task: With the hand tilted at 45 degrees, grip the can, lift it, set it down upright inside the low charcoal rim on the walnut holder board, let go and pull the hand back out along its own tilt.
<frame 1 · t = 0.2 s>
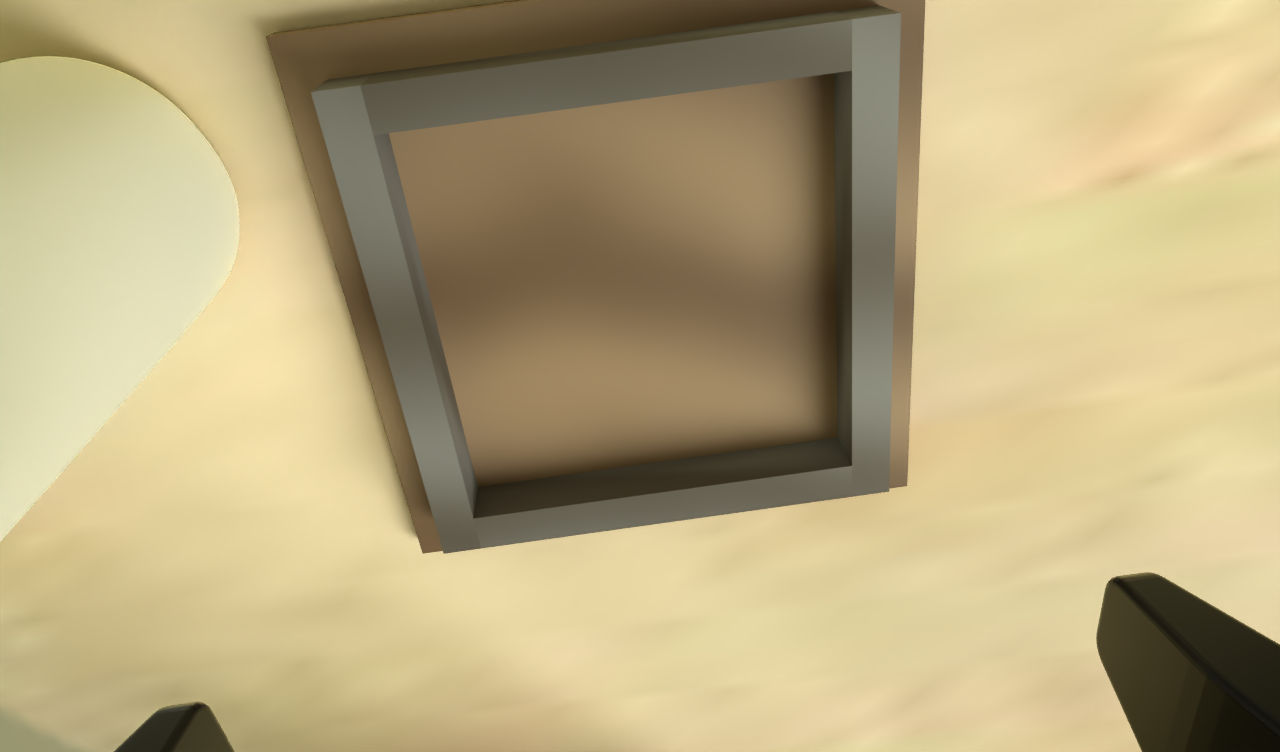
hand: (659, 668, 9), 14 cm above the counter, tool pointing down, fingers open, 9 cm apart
holder: (635, 287, 22), on the counter
can: (104, 195, 21), on the counter
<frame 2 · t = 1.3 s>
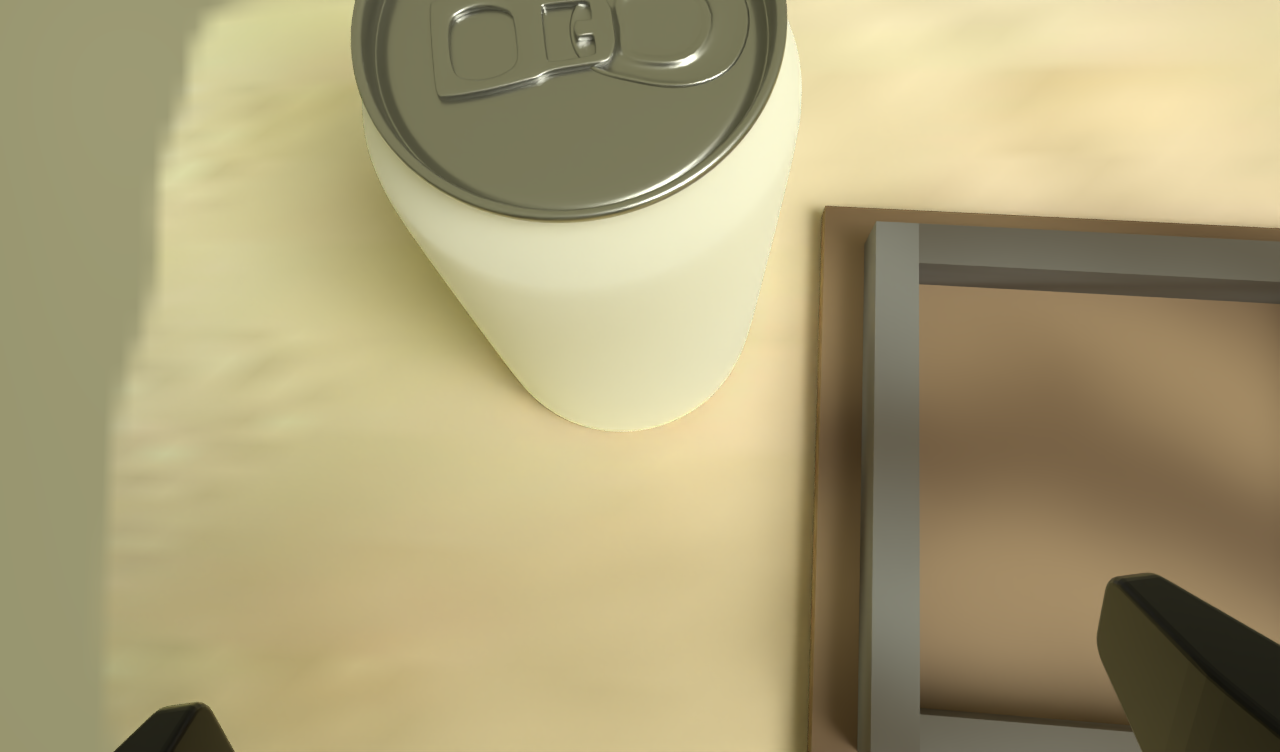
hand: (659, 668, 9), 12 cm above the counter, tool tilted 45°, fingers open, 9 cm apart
holder: (1109, 500, 21), on the counter
can: (624, 315, 23), on the counter
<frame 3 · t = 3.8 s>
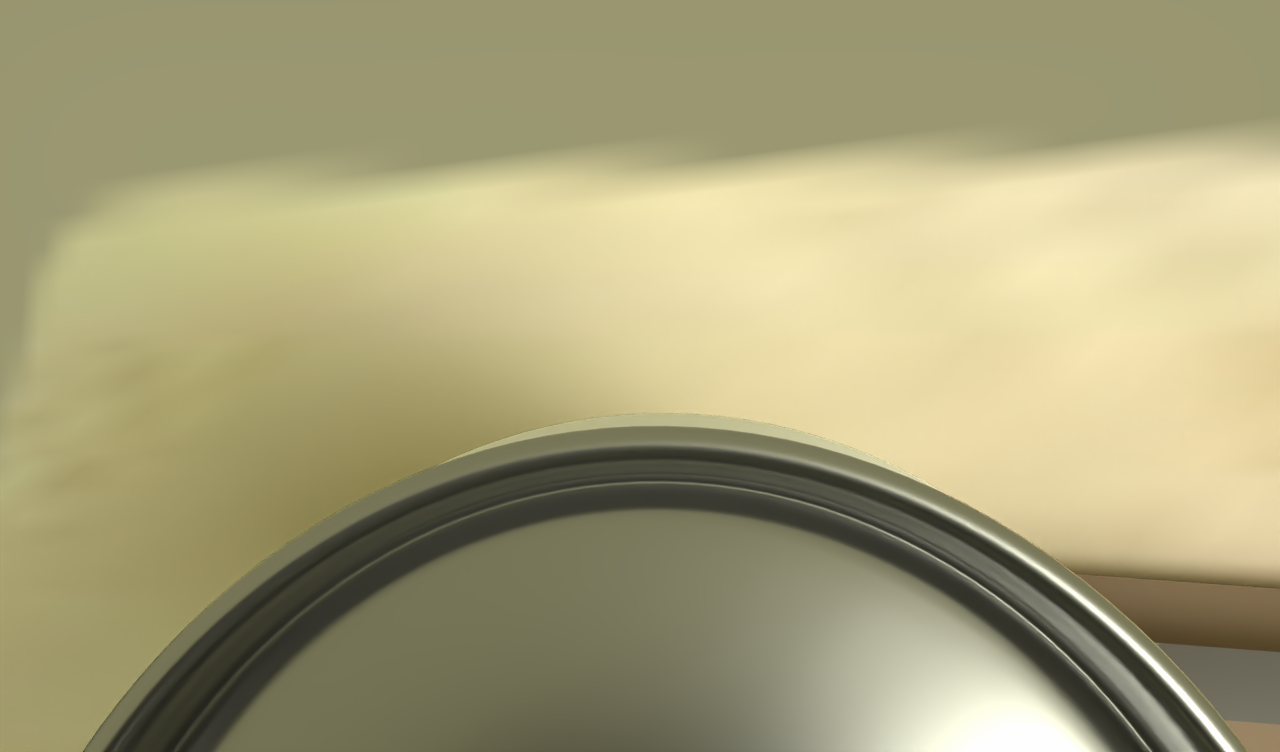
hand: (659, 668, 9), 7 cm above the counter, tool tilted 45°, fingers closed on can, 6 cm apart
can: (675, 726, 15), on the counter, touching gripper
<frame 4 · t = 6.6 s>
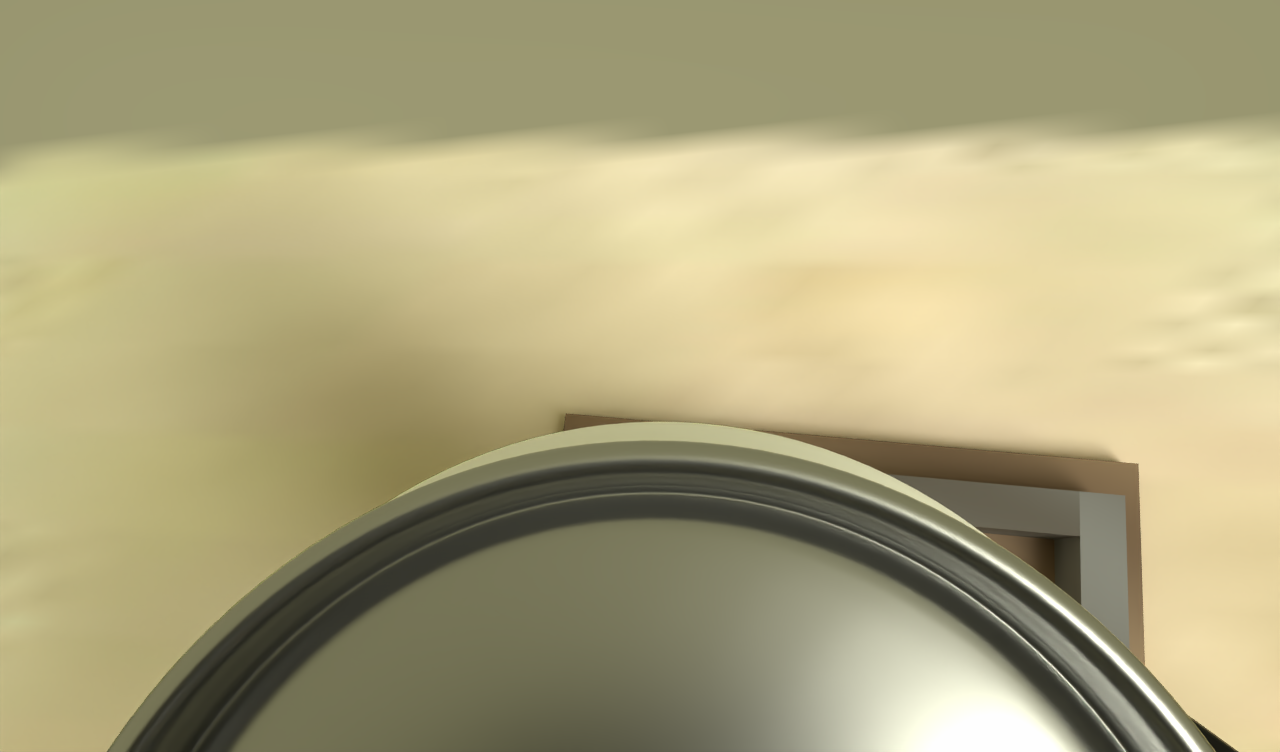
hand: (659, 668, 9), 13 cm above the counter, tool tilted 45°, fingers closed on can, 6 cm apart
holder: (828, 735, 21), on the counter
can: (672, 719, 15), point 6 cm above the counter, touching gripper
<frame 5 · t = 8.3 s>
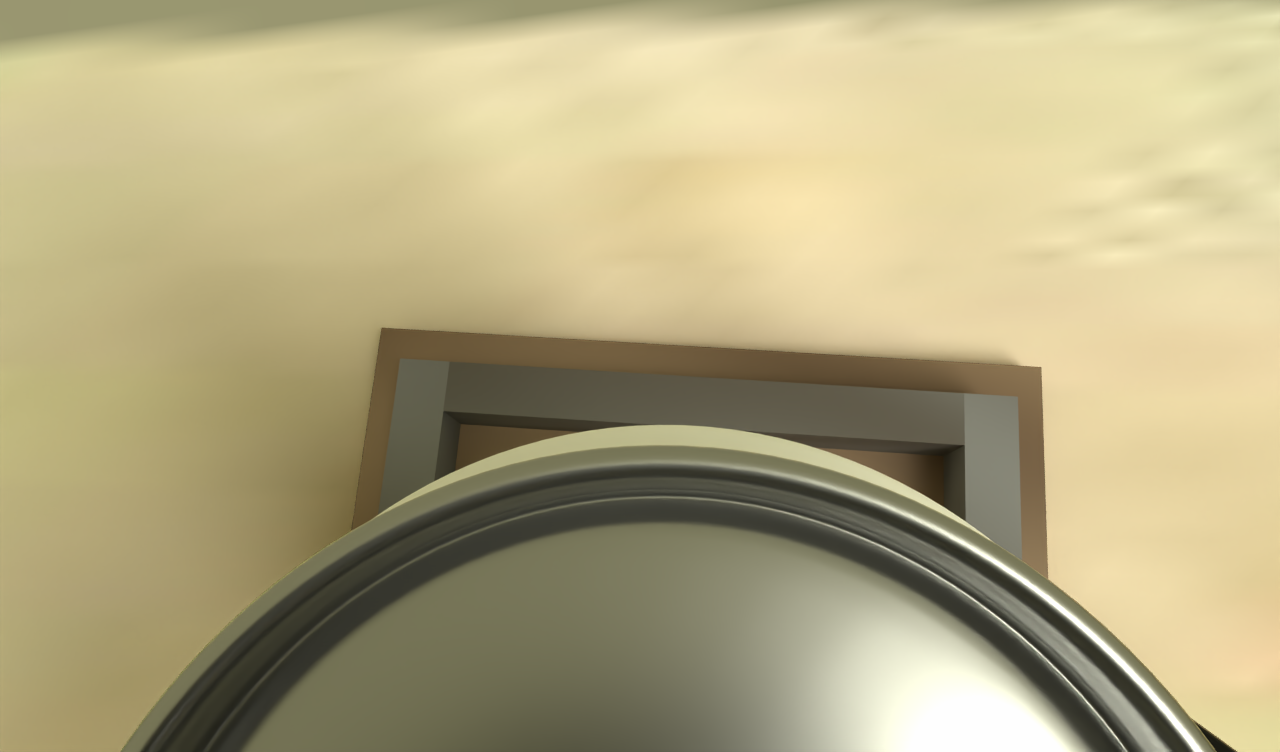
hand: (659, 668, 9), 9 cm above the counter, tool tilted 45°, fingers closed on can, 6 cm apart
holder: (682, 690, 18), on the counter
can: (672, 718, 15), point 2 cm above the counter, touching gripper
when the fingers open (8 cm above the counter, at t = 9.5 s): can stays where it is, resting on holder.
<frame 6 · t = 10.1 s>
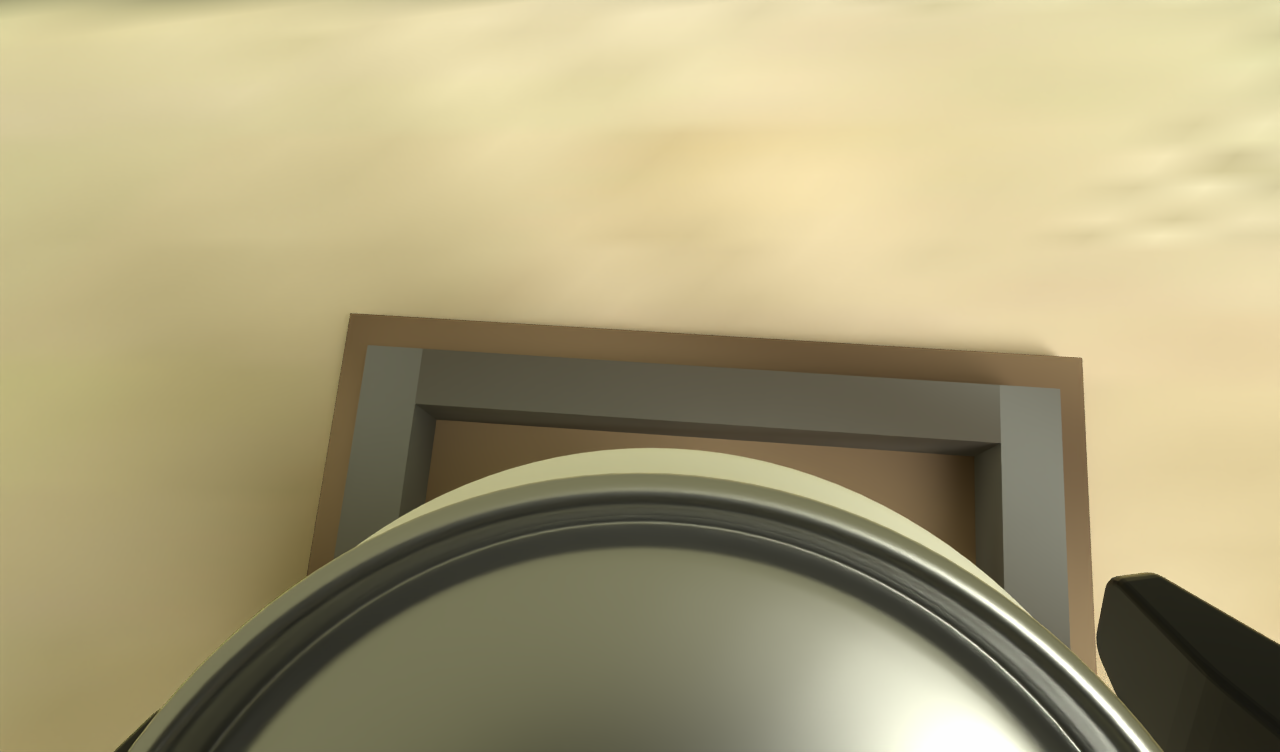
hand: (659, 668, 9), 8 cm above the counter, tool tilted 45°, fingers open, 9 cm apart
holder: (682, 718, 16), on the counter
can: (671, 732, 15), resting on holder
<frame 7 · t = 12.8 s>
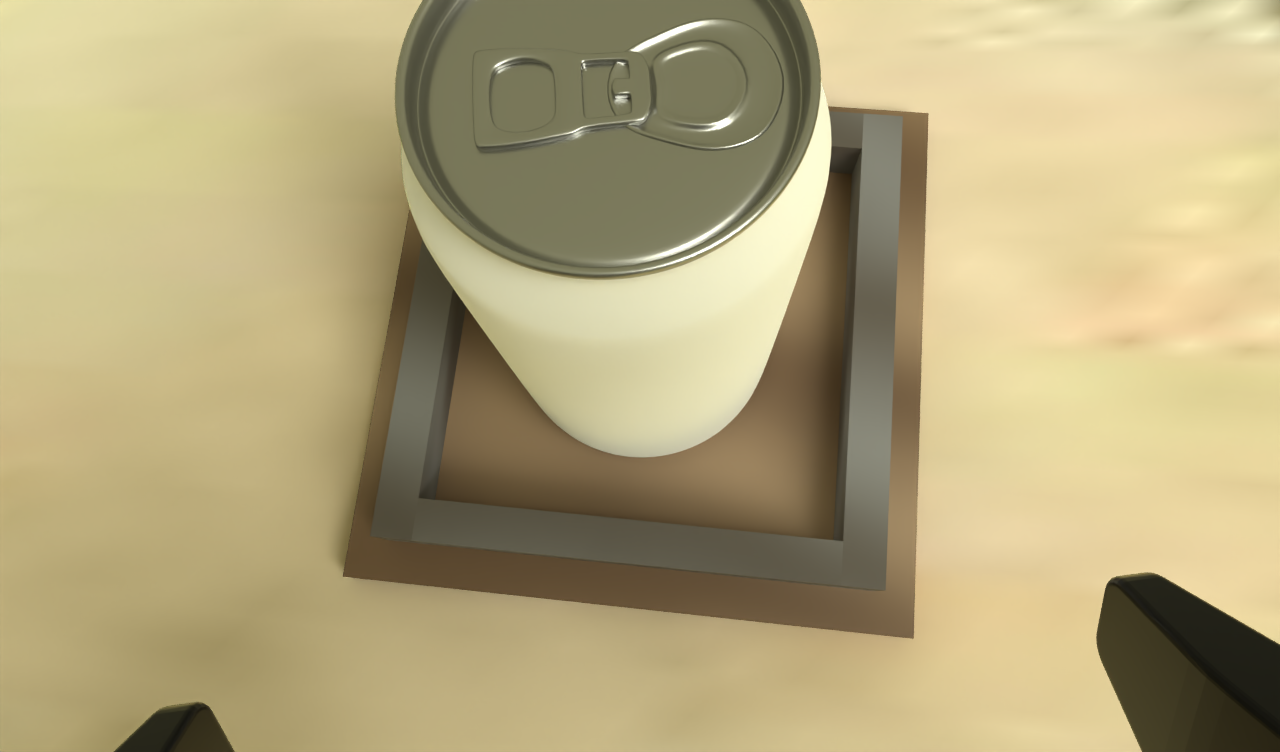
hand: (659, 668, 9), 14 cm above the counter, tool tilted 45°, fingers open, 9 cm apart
holder: (651, 339, 24), on the counter
can: (643, 341, 23), resting on holder
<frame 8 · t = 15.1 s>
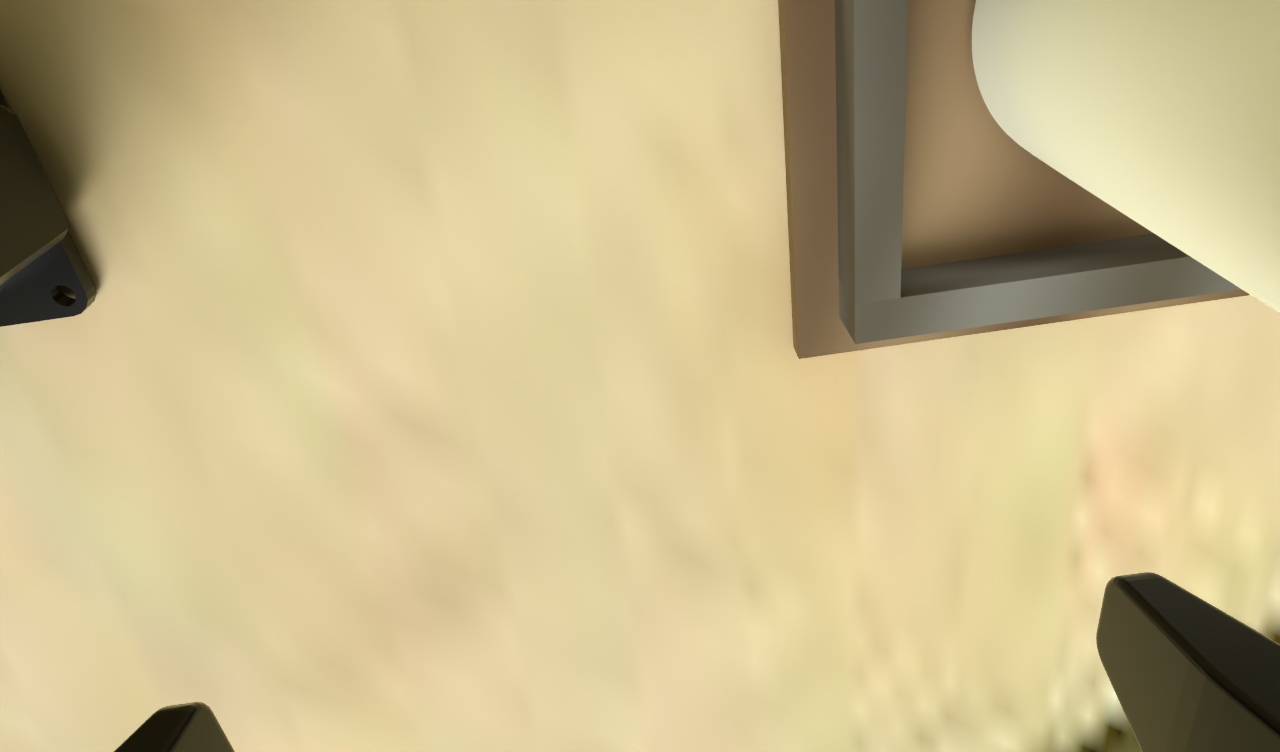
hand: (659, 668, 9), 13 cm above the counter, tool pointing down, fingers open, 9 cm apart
holder: (1113, 7, 18), on the counter
can: (1116, 2, 18), resting on holder
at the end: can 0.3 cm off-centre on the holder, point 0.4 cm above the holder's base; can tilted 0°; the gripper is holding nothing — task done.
